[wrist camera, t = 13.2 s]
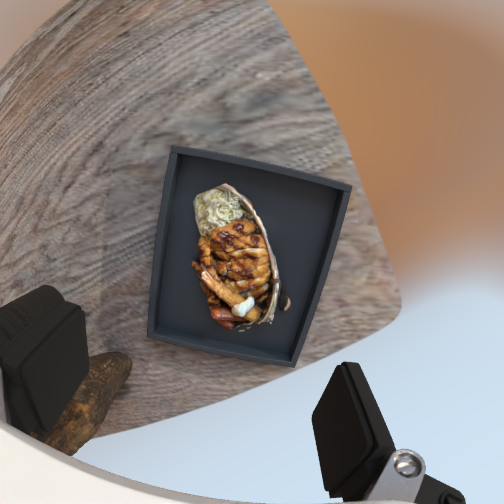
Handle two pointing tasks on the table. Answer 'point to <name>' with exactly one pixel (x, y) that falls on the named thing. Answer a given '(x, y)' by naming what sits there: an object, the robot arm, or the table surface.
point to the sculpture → (89, 403)
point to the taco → (236, 260)
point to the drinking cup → (26, 316)
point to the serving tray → (279, 237)
